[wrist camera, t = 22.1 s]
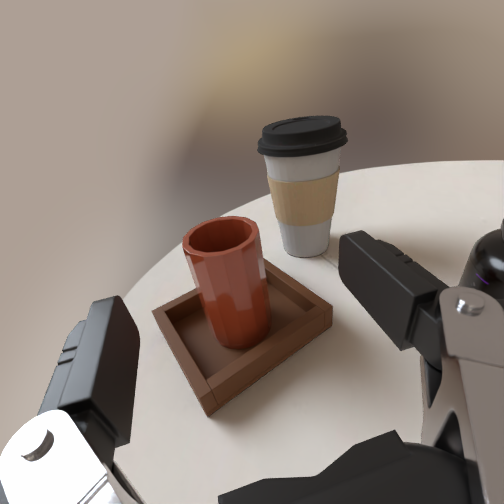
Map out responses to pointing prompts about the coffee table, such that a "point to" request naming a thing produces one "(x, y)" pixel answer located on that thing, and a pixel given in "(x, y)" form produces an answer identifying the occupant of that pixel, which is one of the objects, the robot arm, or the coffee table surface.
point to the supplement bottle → (486, 265)
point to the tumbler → (230, 279)
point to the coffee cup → (303, 179)
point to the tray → (248, 359)
